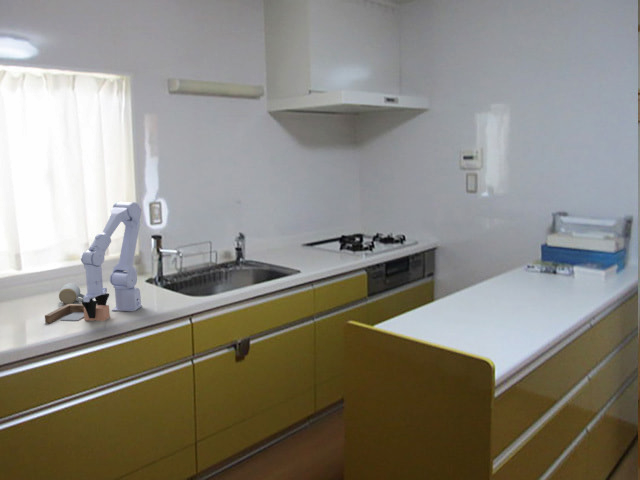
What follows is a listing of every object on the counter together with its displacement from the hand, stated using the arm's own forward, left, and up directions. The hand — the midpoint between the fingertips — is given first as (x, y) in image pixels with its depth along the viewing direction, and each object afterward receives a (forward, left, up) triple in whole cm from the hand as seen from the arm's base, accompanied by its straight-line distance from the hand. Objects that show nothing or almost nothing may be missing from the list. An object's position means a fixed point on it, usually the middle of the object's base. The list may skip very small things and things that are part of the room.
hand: (97, 315), depth 215 cm
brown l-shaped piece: (+11, -1, -1) cm, 11 cm away
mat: (+10, -2, -1) cm, 10 cm away
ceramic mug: (+22, -22, -2) cm, 32 cm away
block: (0, 0, -2) cm, 2 cm away
